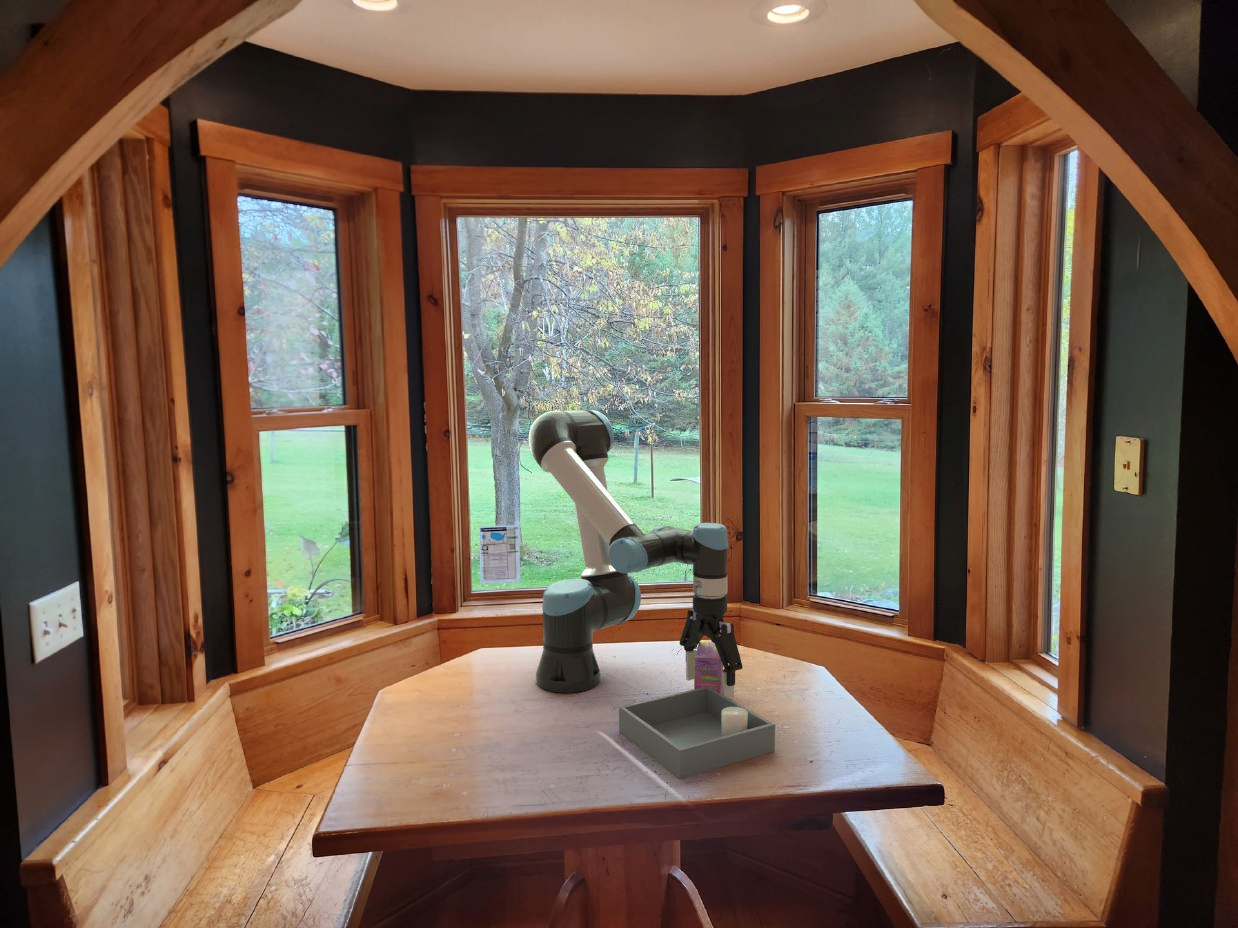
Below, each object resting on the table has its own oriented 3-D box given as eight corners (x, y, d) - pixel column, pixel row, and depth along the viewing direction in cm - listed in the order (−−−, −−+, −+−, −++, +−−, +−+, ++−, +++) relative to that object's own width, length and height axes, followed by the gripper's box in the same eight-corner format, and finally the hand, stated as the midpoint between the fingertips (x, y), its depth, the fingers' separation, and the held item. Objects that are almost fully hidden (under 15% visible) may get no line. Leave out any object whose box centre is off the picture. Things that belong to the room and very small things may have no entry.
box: (720, 711, 167) (720, 658, 166) (693, 709, 168) (693, 656, 167) (723, 693, 177) (724, 642, 176) (698, 691, 178) (698, 641, 177)
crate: (619, 735, 155) (619, 706, 155) (707, 713, 166) (707, 686, 165) (679, 783, 137) (679, 750, 136) (774, 754, 147) (775, 724, 147)
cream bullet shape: (716, 739, 152) (716, 709, 151) (736, 733, 154) (736, 704, 154) (731, 749, 148) (732, 719, 147) (752, 743, 150) (753, 713, 150)
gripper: (664, 584, 179) (664, 674, 181) (731, 610, 158) (730, 711, 160) (691, 580, 183) (691, 668, 185) (760, 605, 161) (758, 704, 163)
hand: (709, 688), depth 172 cm, fingers open, 13 cm apart
